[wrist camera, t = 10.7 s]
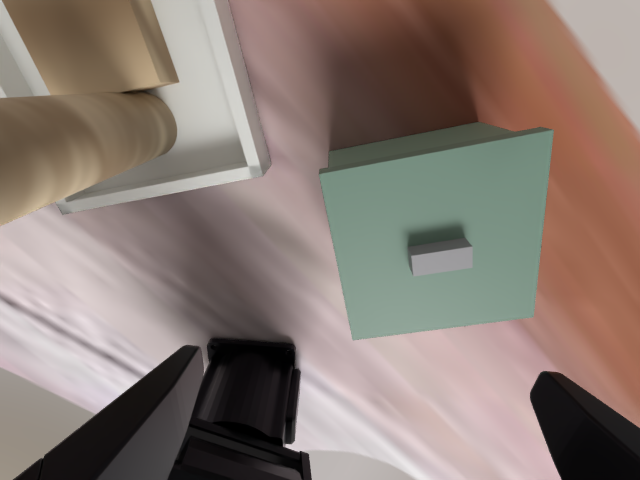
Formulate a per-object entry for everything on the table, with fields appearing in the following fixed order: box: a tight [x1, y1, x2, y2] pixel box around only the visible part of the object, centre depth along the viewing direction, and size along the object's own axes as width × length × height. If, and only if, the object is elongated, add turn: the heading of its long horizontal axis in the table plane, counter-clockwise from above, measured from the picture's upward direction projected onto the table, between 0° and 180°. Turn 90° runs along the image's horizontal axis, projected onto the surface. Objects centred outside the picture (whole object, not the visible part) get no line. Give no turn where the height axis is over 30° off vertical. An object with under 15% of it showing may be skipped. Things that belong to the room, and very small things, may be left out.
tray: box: [0, 0, 271, 215], centre depth 15 cm, size 13×11×2 cm
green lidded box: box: [319, 122, 554, 340], centre depth 16 cm, size 9×9×7 cm
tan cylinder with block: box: [0, 0, 179, 226], centre depth 10 cm, size 8×5×13 cm, turn 12°
